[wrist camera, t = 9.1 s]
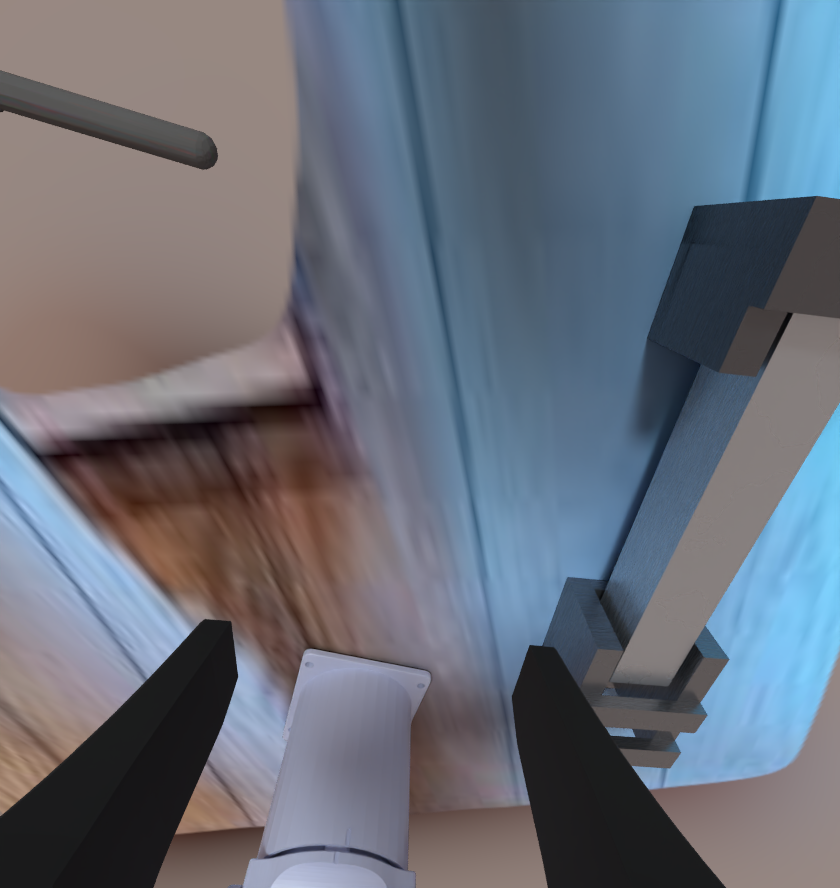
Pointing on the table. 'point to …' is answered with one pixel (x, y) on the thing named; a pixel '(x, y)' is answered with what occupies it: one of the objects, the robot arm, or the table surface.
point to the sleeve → (637, 706)
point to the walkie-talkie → (106, 121)
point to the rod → (717, 494)
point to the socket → (749, 279)
